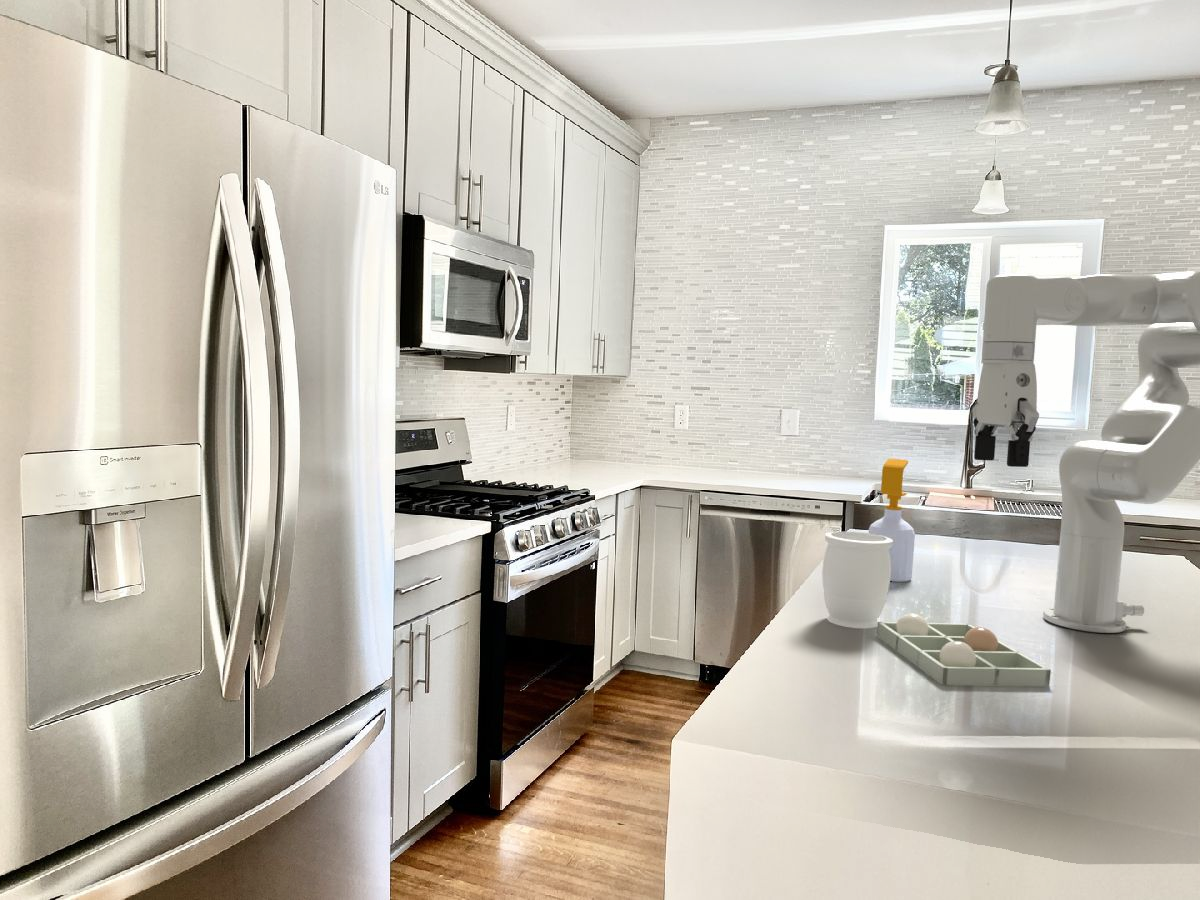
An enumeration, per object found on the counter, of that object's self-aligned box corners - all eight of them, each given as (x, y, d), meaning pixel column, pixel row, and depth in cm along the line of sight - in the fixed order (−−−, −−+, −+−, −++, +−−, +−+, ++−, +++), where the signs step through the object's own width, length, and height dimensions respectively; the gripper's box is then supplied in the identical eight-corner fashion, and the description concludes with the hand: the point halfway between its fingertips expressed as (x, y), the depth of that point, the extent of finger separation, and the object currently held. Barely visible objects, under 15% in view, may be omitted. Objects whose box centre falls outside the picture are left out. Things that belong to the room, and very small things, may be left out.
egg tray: (967, 643, 138) (968, 623, 138) (1048, 693, 117) (1050, 669, 117) (876, 642, 137) (877, 621, 137) (941, 692, 116) (943, 668, 115)
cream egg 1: (919, 639, 136) (921, 609, 136) (933, 648, 131) (935, 618, 131) (890, 639, 136) (892, 609, 135) (902, 648, 131) (905, 617, 131)
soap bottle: (915, 577, 186) (924, 460, 184) (905, 584, 178) (913, 462, 176) (872, 570, 191) (880, 456, 189) (860, 577, 183) (868, 459, 181)
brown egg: (986, 654, 130) (988, 623, 129) (1003, 664, 125) (1005, 632, 125) (956, 654, 129) (958, 623, 129) (972, 664, 125) (974, 632, 124)
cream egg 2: (964, 669, 122) (966, 636, 122) (981, 681, 117) (984, 647, 117) (931, 669, 122) (934, 636, 121) (947, 680, 117) (950, 646, 117)
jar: (887, 623, 148) (893, 534, 147) (885, 640, 138) (892, 544, 137) (821, 615, 152) (827, 528, 150) (815, 631, 142) (822, 538, 141)
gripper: (1063, 354, 132) (1055, 469, 133) (1000, 356, 149) (993, 458, 150) (1015, 353, 131) (1007, 468, 132) (957, 354, 148) (951, 457, 150)
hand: (1000, 463), depth 141 cm, fingers open, 9 cm apart
